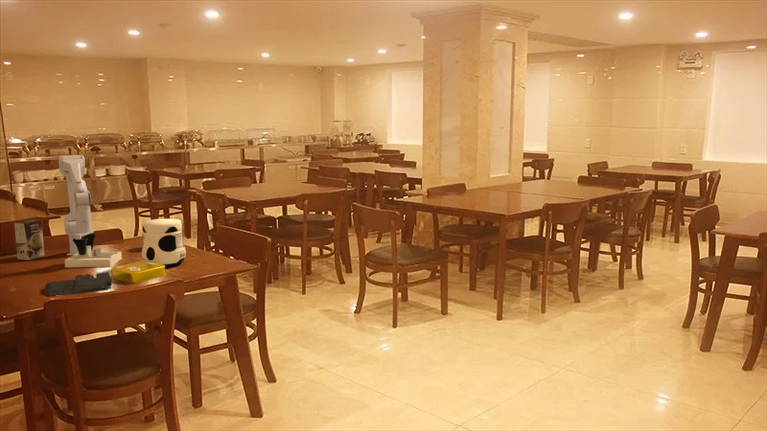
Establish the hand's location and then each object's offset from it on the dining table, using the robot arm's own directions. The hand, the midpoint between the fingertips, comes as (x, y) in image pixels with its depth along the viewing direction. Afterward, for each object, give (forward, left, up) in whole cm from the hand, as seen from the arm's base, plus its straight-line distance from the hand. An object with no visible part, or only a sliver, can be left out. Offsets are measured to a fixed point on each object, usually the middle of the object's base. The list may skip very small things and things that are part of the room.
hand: (86, 252), depth 261 cm
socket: (0, +2, -4) cm, 5 cm away
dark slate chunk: (+38, +12, -5) cm, 40 cm away
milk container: (+4, +33, -5) cm, 34 cm away
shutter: (0, +7, -1) cm, 7 cm away
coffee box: (-12, -28, -5) cm, 31 cm away
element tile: (+24, +28, -5) cm, 37 cm away
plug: (0, -1, -4) cm, 5 cm away
